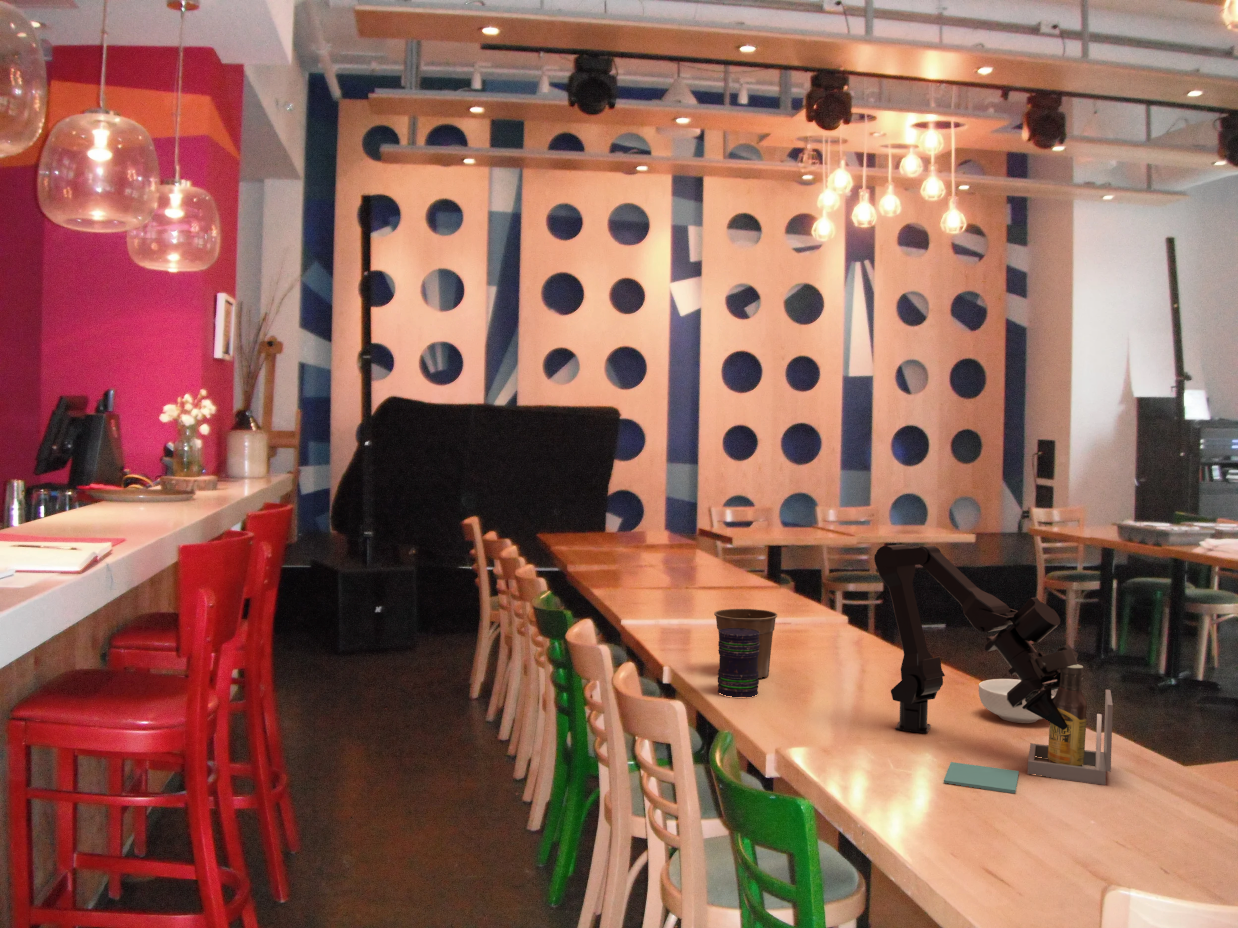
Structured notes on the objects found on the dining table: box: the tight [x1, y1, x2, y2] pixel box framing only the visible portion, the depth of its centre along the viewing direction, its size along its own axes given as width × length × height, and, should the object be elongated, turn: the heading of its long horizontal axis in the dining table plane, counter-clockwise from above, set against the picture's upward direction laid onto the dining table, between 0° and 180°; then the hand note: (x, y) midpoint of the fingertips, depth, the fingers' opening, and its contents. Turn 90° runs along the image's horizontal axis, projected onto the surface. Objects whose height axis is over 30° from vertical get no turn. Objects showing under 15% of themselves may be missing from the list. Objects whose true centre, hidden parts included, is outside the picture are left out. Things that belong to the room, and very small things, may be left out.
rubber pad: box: [943, 761, 1020, 794], centre depth 190 cm, size 12×12×1 cm
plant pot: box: [714, 608, 778, 679], centre depth 271 cm, size 16×16×16 cm
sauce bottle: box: [1047, 663, 1088, 767], centre depth 196 cm, size 7×6×20 cm
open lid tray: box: [1027, 689, 1114, 786], centre depth 196 cm, size 13×14×14 cm
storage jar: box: [717, 628, 760, 698], centre depth 251 cm, size 10×10×15 cm
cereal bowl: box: [978, 678, 1054, 724], centre depth 233 cm, size 17×17×7 cm
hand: (1074, 725), depth 195 cm, fingers closed on sauce bottle, 6 cm apart
